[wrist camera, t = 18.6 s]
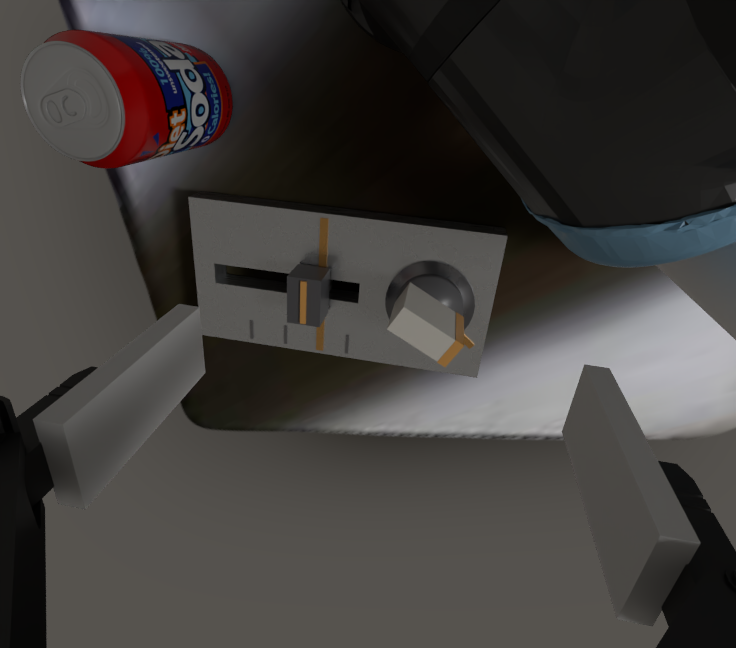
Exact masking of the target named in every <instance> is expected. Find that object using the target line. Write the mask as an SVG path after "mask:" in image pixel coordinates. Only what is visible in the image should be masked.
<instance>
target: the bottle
mask: <svg viewBox="0 0 736 648" xmlns="http://www.w3.org/2000/svg"><path fill="white" fill-rule="evenodd" d="M656 266H657V267H658V268H659V269H660V270H661V271H662V272H664V273H665V274H666V275H667V276H668V277H669V278H670V279H671V280H672V281H673V282H674V283H675V284H676V285H677V286H679V287H680V288H681V289H682V290H683V291H684V292H685V293H686V294H687V295H688V296H689V297H690V298H691V299H692V300H694V301H695V302H696V303H697V304H698V305H699V306H700V307H701V308H702V309H703V310H704V311H705V312H706V313H707V314H709V315H710V316H711V317H712V318H713V319H714V320H715V321H716V322H717V323H718V324H719V325H720V326H721V327H722V328H724V329H725V330H726V331H727V332H728V333H729V334H730V335H731V336H732V337H733V338H734V339H735V340H736V242H734V243H732V244H729V245H727V246H724V247H722V248H719V249H716V250H714V251H711V252H708V253H705V254H702V255H699V256H695V257H692V258H688V259H684V260H680V261H676V262H671V263H666V264H659V265H656Z"/></svg>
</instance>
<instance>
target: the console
mask: <svg viewBox="0 0 736 648" xmlns="http://www.w3.org/2000/svg"><path fill="white" fill-rule="evenodd" d="M188 199H189V210H190V221H191V232H192V243H193V253H194V264H195V275H196V286H197V297H198V307H199V309H200V320H201V331H202V335H207V336H214V337H220V338H227V339H233V340H239V341H246V342H252V343H258V344H265V345H271V346H278V347H284V348H290V349H297V350H303V351H310V352H316V353H322V354H329V355H335V356H342V357H348V358H354V359H361V360H367V361H374V362H380V363H386V364H393V365H399V366H406V367H412V368H418V369H425V370H431V371H438V372H444V373H450V374H457V375H463V376H470V377H476V378H477V375H478V370H479V366H480V361H481V356H482V352H483V347H484V343H485V338H486V333H487V329H488V324H489V320H490V315H491V310H492V306H493V301H494V296H495V292H496V287H497V283H498V278H499V273H500V269H501V264H502V260H503V255H504V250H505V246H506V241H507V232H506V229H505V228H502V227H494V226H485V225H477V224H469V223H461V222H452V221H444V220H436V219H427V218H419V217H411V216H402V215H394V214H386V213H378V212H369V211H361V210H353V209H344V208H336V207H328V206H319V205H311V204H303V203H295V202H286V201H278V200H270V199H261V198H253V197H245V196H236V195H228V194H220V193H211V192H203V191H201V192H199V193H196V194H194V195H192V196H189V197H188ZM297 264H303V265H310V266H317V267H325V268H330V279H331V280H338V281H346V282H353V283H360V287H359V292H352V291H345V290H338V289H331V290H330V291H329V308H328V314H327V315H326V317H325V319H324V321H323V322H322V324H321V326H320V327H314V326H307V325H301V324H294V323H287V282H281V281H274V280H267V279H260V278H253V277H245V276H238V275H231V274H227V272H226V265H230V266H237V267H244V268H251V269H259V270H266V271H273V272H280V273H288V274H289V273H290V272H291V271H292V270H293V269H294V268H295V267H296V266H297ZM422 274H437V275H440V276H443V277H445V278H447V279H449V280H450V281H452V282H453V283H454V284H455V285H456V286H457V288H458V289H459V291H460V292H461V295H462V298H463V317H464V347H463V348H462V349H461V350H460V351H459V352H458V354H457V355H456V356H455V357H454V358H453V359H452V360H451V362H450V363H449V364H448V365H447V366H446V367H444V366H442V365H440V364H439V363H437V361H435V360H434V359H432V358H431V357H429V356H428V355H426V354H425V353H423V352H421V351H420V350H418V349H417V348H415V347H414V346H412V345H411V344H409V343H408V342H406V341H404V340H403V339H401V338H400V337H398V336H397V335H395V334H394V333H392V332H390V331H389V330H387V327H388V324H389V320H390V317H391V314H392V310H393V307H394V303H395V302H396V298H397V295H398V292H399V290H400V289H401V287H402V286H403V285H404V284H405V283H406V282H407V281H408V280H410V279H411V278H413V277H415V276H418V275H422Z"/></svg>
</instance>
